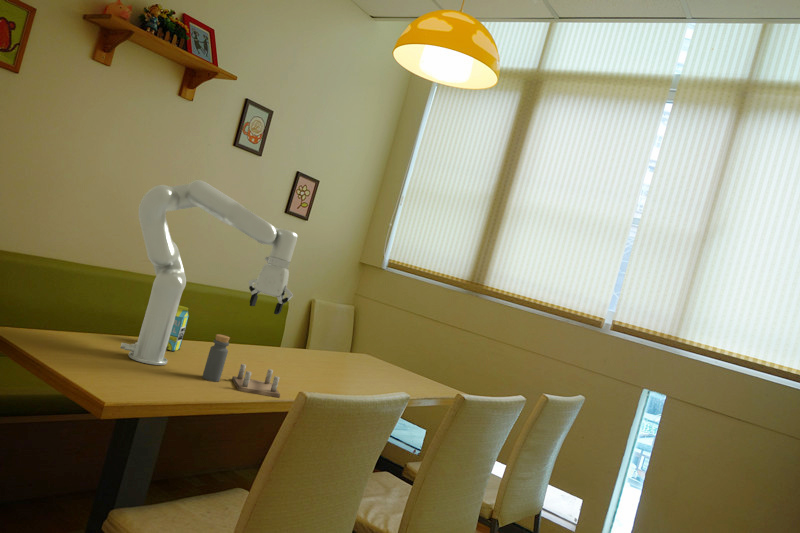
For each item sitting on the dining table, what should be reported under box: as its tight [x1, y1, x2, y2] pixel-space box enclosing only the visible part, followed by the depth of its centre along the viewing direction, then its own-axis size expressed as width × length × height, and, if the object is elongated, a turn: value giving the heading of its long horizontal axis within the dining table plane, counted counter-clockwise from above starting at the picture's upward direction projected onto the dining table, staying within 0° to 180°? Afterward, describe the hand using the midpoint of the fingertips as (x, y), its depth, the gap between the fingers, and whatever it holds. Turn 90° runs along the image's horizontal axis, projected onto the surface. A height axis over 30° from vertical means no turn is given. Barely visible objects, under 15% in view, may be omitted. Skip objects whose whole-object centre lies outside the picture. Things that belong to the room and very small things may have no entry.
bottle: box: [201, 333, 231, 383], centre depth 208 cm, size 6×6×15 cm
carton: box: [166, 305, 190, 353], centre depth 235 cm, size 7×8×18 cm
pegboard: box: [231, 363, 281, 398], centre depth 212 cm, size 14×14×6 cm
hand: (264, 310), depth 218 cm, fingers open, 9 cm apart
